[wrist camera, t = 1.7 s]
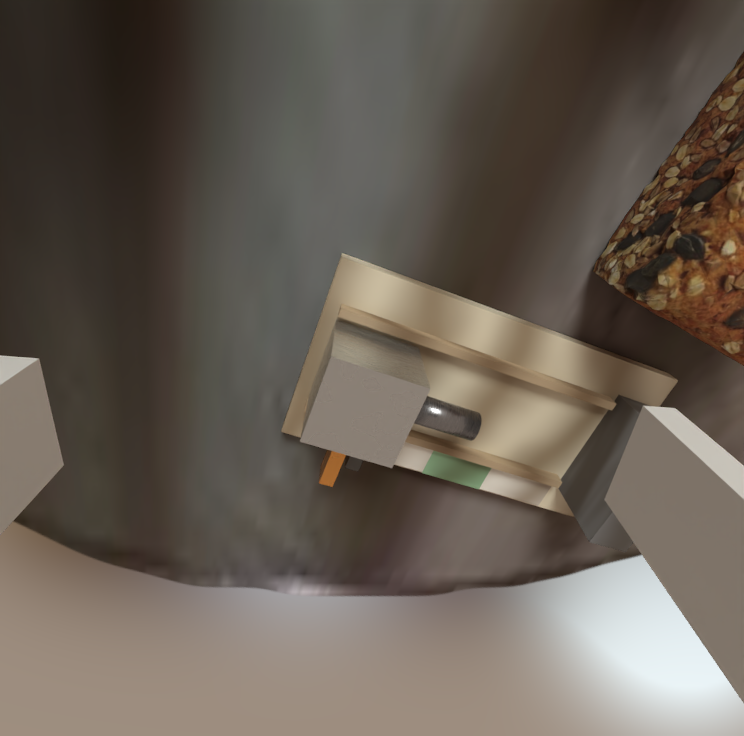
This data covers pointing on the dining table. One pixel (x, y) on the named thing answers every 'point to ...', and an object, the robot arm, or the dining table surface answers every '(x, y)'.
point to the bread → (692, 229)
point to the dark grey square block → (353, 463)
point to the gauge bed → (500, 395)
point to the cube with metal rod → (373, 401)
